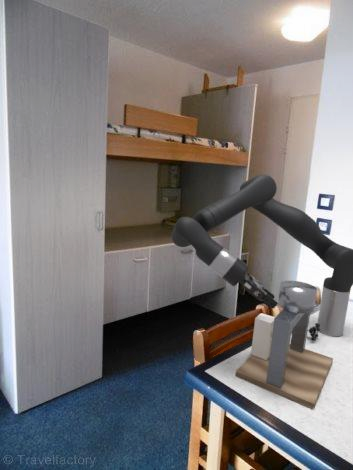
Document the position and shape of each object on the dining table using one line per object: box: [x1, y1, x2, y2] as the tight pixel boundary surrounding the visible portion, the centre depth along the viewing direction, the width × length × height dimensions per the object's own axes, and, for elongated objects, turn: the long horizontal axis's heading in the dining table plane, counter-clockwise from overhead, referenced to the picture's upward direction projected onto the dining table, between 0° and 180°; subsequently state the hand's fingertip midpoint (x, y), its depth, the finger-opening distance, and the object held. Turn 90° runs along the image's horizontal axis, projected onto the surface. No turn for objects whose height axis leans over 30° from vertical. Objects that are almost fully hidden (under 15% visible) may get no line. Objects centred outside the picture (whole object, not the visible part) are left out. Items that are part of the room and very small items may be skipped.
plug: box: [250, 312, 276, 360], centre depth 101 cm, size 5×6×12 cm
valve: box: [291, 322, 320, 342], centre depth 120 cm, size 7×7×12 cm
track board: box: [235, 345, 334, 410], centre depth 98 cm, size 27×21×2 cm
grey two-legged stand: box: [266, 280, 318, 389], centre depth 95 cm, size 26×10×24 cm, turn 146°
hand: (274, 302), depth 93 cm, fingers open, 8 cm apart
